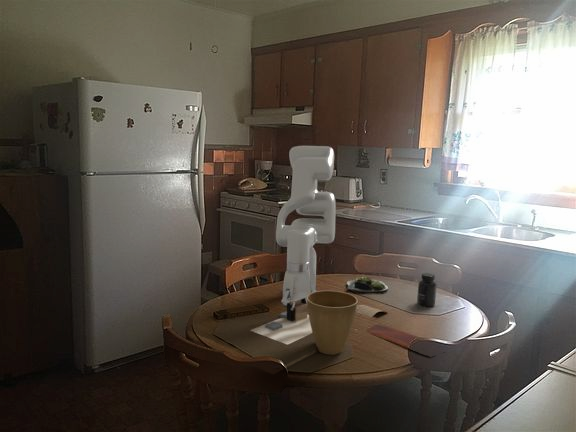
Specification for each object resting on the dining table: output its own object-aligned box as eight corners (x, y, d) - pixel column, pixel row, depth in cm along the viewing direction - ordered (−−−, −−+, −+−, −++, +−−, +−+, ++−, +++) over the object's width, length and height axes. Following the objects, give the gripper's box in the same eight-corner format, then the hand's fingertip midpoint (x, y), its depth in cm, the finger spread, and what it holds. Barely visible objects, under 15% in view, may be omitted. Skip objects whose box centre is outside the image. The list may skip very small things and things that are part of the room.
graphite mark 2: (279, 316, 163) (279, 313, 163) (287, 313, 166) (287, 310, 166) (288, 319, 160) (288, 316, 160) (296, 316, 163) (296, 313, 163)
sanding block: (287, 319, 160) (287, 305, 159) (298, 315, 164) (298, 301, 164) (296, 322, 157) (296, 308, 157) (307, 318, 162) (307, 304, 161)
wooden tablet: (450, 351, 141) (450, 346, 141) (430, 360, 135) (431, 355, 135) (380, 324, 162) (380, 320, 161) (361, 331, 155) (361, 326, 155)
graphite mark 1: (265, 327, 153) (265, 324, 153) (273, 324, 156) (273, 321, 156) (274, 330, 150) (274, 327, 150) (282, 327, 153) (282, 324, 153)
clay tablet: (367, 324, 162) (368, 316, 161) (344, 316, 169) (344, 309, 168) (390, 314, 172) (390, 307, 172) (367, 307, 179) (367, 300, 179)
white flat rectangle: (249, 333, 151) (249, 330, 150) (297, 314, 168) (297, 311, 168) (287, 348, 140) (287, 344, 140) (334, 326, 158) (334, 322, 158)
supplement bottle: (415, 305, 180) (417, 275, 178) (418, 300, 186) (419, 271, 184) (434, 308, 177) (436, 277, 176) (436, 303, 184) (438, 273, 182)
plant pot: (297, 354, 136) (298, 301, 134) (315, 336, 149) (317, 287, 147) (347, 365, 130) (349, 309, 128) (361, 344, 144) (363, 294, 141)
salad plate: (340, 281, 212) (341, 271, 212) (379, 281, 213) (380, 271, 213) (348, 294, 193) (349, 284, 193) (391, 294, 194) (392, 283, 194)
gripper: (305, 260, 167) (304, 308, 170) (272, 269, 154) (272, 321, 157) (322, 263, 162) (320, 313, 165) (290, 273, 149) (289, 327, 152)
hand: (297, 317), depth 161 cm, fingers closed on sanding block, 6 cm apart
